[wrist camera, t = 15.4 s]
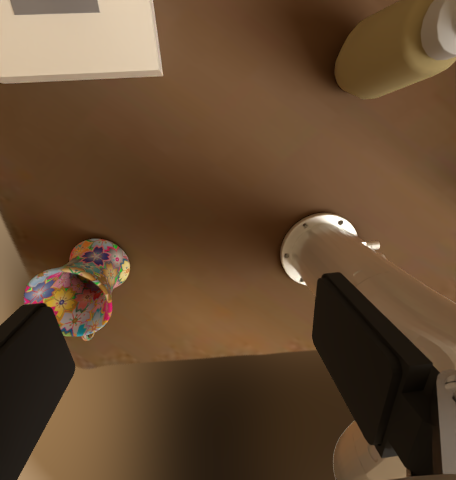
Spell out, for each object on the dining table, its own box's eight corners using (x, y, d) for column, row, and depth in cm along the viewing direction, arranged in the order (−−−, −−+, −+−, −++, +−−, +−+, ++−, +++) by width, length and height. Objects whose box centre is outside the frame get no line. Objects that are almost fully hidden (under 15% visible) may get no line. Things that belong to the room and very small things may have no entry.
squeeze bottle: (342, 117, 34) (480, 98, 17) (313, 58, 31) (445, -34, 14) (396, 74, 32) (603, 9, 16) (371, 9, 29) (592, -155, 13)
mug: (63, 234, 36) (11, 270, 26) (130, 233, 37) (104, 268, 27) (80, 303, 40) (41, 356, 31) (139, 300, 41) (120, 351, 32)
